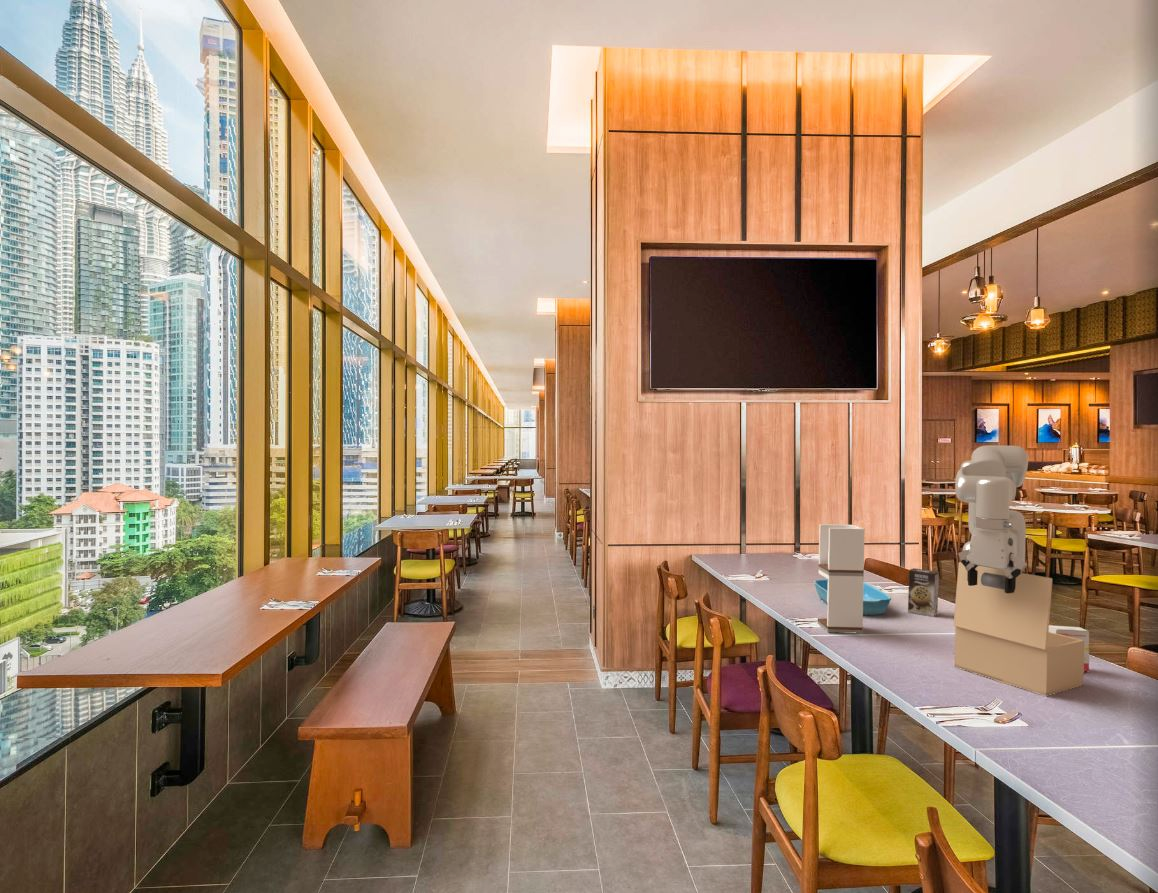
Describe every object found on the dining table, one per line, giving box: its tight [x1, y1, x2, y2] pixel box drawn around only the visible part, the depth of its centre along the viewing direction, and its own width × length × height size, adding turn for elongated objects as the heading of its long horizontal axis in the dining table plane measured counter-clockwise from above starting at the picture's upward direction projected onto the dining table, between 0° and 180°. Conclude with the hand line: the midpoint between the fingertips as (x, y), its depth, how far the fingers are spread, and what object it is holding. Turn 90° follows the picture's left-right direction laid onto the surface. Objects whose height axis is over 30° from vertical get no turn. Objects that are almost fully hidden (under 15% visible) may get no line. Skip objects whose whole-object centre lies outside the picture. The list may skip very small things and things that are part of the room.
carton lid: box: [953, 561, 1053, 650], centre depth 179 cm, size 18×24×6 cm
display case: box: [817, 523, 866, 634], centre depth 228 cm, size 11×11×35 cm
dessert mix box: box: [907, 567, 940, 617], centre depth 251 cm, size 9×6×16 cm
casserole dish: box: [813, 578, 892, 616], centre depth 262 cm, size 37×22×7 cm, turn 178°
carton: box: [954, 626, 1085, 697], centre depth 184 cm, size 18×24×12 cm
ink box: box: [1048, 624, 1090, 673], centre depth 191 cm, size 9×5×12 cm, turn 80°
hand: (990, 588), depth 178 cm, fingers open, 9 cm apart
